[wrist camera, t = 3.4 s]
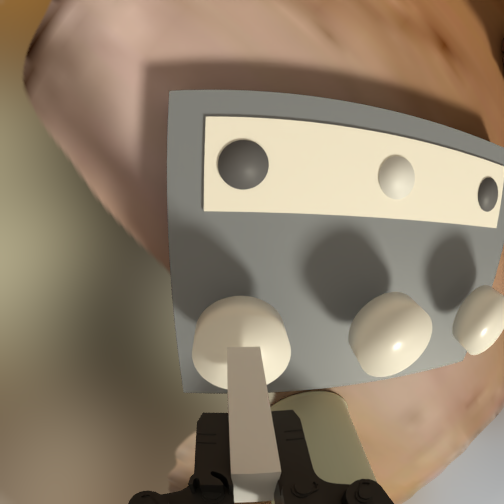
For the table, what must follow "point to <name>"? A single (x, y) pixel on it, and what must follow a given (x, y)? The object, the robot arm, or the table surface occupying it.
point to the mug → (503, 50)
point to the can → (329, 436)
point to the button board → (325, 222)
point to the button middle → (389, 334)
